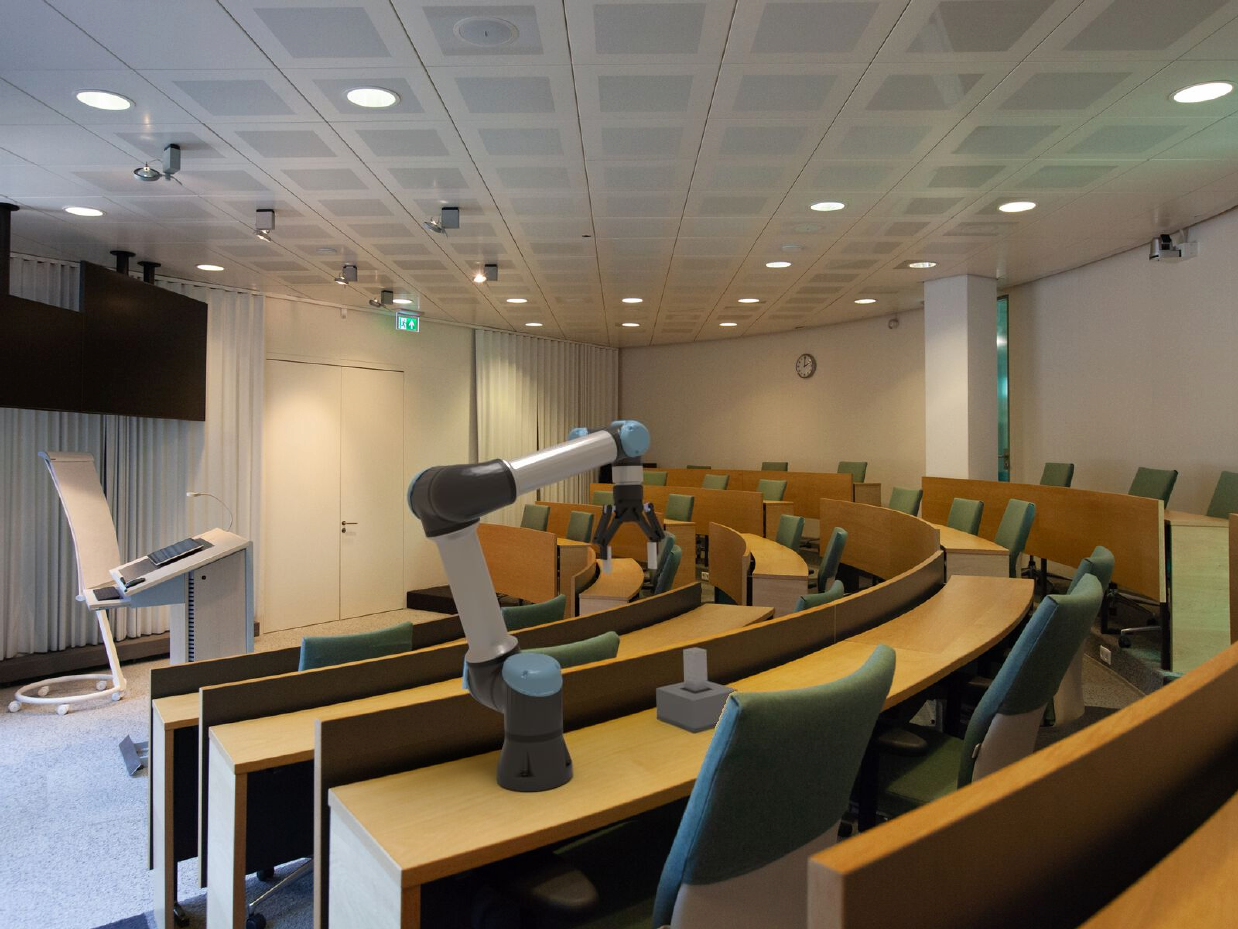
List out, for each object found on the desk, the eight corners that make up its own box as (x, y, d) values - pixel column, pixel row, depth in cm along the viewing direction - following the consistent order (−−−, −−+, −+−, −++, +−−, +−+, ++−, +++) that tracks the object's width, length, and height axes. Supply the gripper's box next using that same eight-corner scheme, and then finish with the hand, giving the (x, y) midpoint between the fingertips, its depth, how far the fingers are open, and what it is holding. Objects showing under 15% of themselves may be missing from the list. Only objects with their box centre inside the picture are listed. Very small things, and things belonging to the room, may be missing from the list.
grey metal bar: (696, 719, 178) (693, 652, 179) (685, 715, 181) (683, 649, 182) (708, 716, 180) (706, 650, 181) (697, 712, 184) (695, 647, 184)
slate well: (694, 733, 171) (693, 700, 171) (657, 719, 183) (656, 688, 183) (738, 721, 179) (737, 689, 179) (700, 708, 191) (699, 678, 191)
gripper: (658, 483, 192) (661, 565, 191) (576, 485, 178) (578, 574, 177) (677, 482, 186) (679, 567, 185) (593, 484, 172) (596, 576, 171)
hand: (630, 571), depth 181 cm, fingers open, 13 cm apart
